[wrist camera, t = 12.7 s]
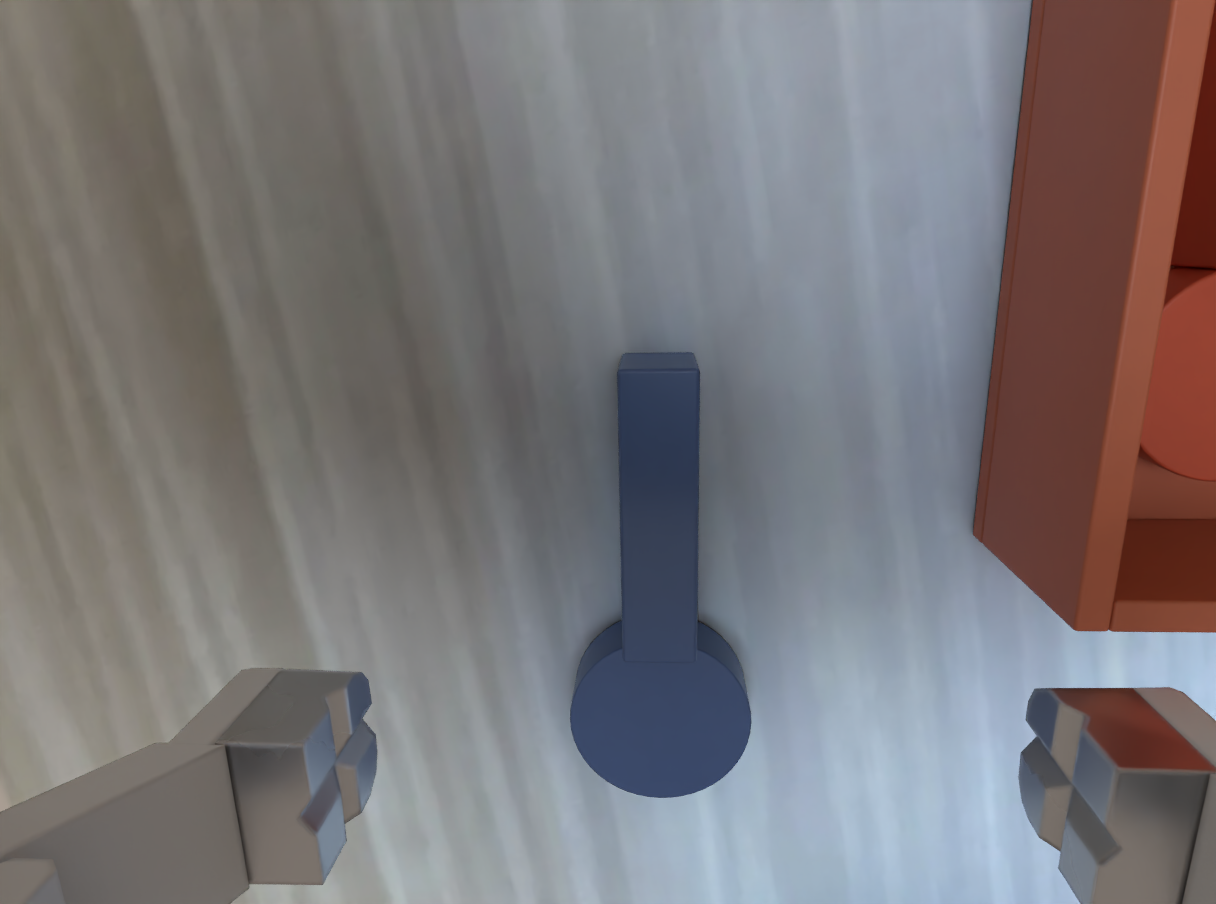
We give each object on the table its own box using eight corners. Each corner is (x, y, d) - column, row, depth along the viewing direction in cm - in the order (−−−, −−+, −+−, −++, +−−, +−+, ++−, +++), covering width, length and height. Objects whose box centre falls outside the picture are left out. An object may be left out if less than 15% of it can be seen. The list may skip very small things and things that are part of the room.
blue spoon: (563, 353, 17) (549, 370, 15) (754, 351, 17) (768, 367, 15) (578, 758, 20) (569, 820, 18) (742, 761, 20) (752, 825, 18)
